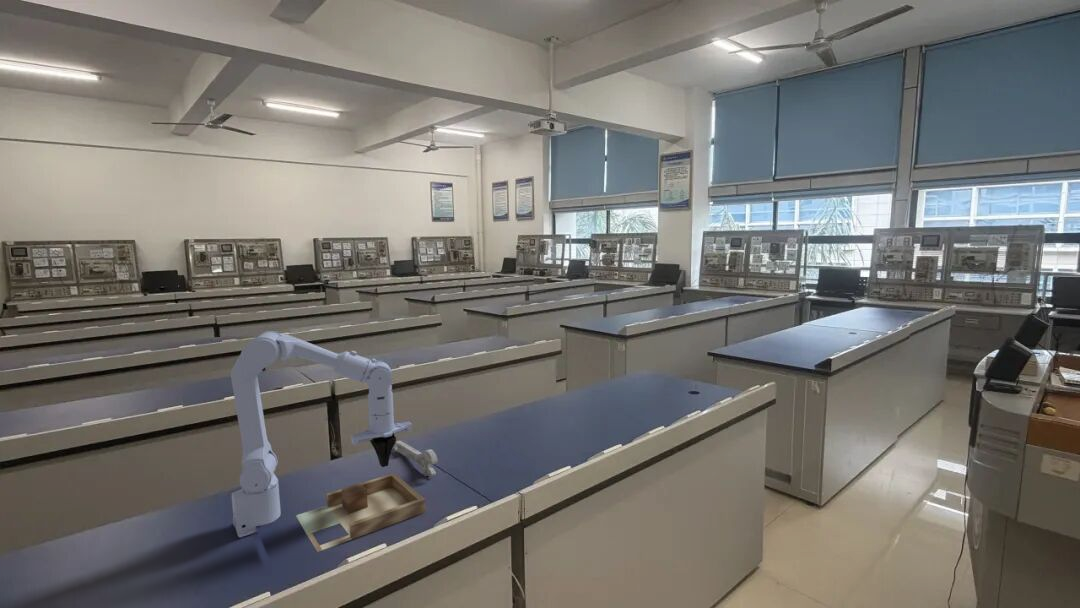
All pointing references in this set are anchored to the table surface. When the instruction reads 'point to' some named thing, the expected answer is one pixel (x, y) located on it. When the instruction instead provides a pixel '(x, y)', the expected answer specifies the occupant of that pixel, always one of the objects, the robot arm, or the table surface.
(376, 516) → the cubby base
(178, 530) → the table surface
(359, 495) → the walnut block
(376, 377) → the robot arm
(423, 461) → the wrench
